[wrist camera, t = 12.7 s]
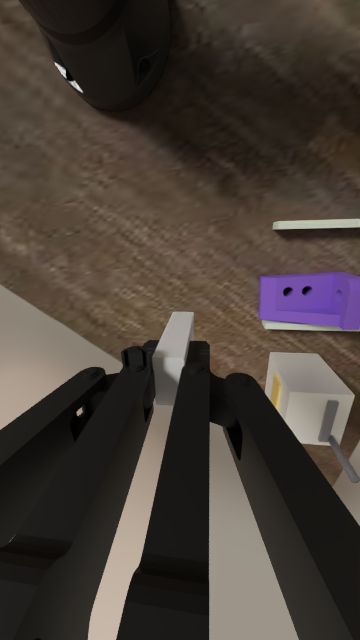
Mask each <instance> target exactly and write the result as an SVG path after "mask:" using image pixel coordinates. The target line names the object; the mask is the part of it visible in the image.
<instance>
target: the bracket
mask: <svg viewBox="0 0 360 640" xmlns="http://www.w3.org/2000/svg"><path fill="white" fill-rule="evenodd" d="M306 286H309V289H308V291H307V292H306V293H304V294H302V289H303V288H304V287H306ZM286 287H291V289H290V291H289V293H287V294H286V295H283V290H284V289H285V288H286ZM259 318H260V319H264V320H274V321H285V322H295V323H305V324H315V325H326V326H336V327H340V328H341V329H342V330H359V329H360V277H359V276H356V275H352V274H349V273H346V272H342V271H340V272H324V273H307V274H291V275H275V276H260V292H259Z"/></svg>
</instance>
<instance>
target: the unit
mask: <svg viewBox="0 0 360 640" xmlns="http://www.w3.org/2000/svg"><path fill="white" fill-rule="evenodd" d="M265 394H266V395H267V397H268V398H269V399H270V401H271V402H272V404H273V405H274V407H275V408H276V409H277V411H278V412H279V414H280V415H281V416H282V418H283V419H284V421H285V422H286V423H287V425H288V426H289V428H290V429H291V430H292V432H293V433H294V435H295V436H296V437H297V439H298V440H299V442H300V443H305V444H317V445H329V446H331V447H332V449H333V451H334V452H335V454H336V456H337V458H338V459H339V461H340V463H341V465H342V466H343V468H344V470H345V472H346V473H347V475H348V477H349V479H350V480H351V482H353V483H358V482H359V481H360V478H359V477H358V475H357V474H356V472H355V470H354V469H353V467H352V465H351V464H350V462H349V460H348V459H347V457H346V455H345V454H344V452H343V450H342V449H341V447H340V443H341V439H342V436H343V433H344V430H345V426H346V423H347V420H348V416H349V413H350V410H351V407H352V403H353V400H354V397H355V395H354V394H353V393H352V392H351V390H350V389H349V388H348V387H347V386H346V385H345V384H344V383H343V382H342V380H341V379H340V378H339V377H338V376H337V375H336V374H335V373H334V371H333V370H332V369H331V368H330V367H329V366H328V365H327V364H326V363H325V361H324V360H323V359H322V358H321V357H320V356H319V355H318V354H309V353H282V352H270V357H269V365H268V372H267V380H266V387H265Z"/></svg>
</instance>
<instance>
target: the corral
mask: <svg viewBox="0 0 360 640" xmlns="http://www.w3.org/2000/svg"><path fill="white" fill-rule="evenodd" d="M351 227H360V219H340V220H306V221H277V222H273V229H311V228H351ZM262 324H263V326H264V328H265V329H285V330H323V331H360V329H359V330H342V329H341V328H340V327H336V326H326V325H315V324H305V323H295V322H285V321H274V320H264V319H262Z"/></svg>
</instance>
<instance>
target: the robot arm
mask: <svg viewBox="0 0 360 640" xmlns="http://www.w3.org/2000/svg"><path fill="white" fill-rule="evenodd" d="M19 2H20V3H21V4H22V5H23V6H24V7H25V9H26V10H27V11H28V12H29V13H30V15H31V16H32V17H33V18H34V19H35V21H36V23H37V25H38V27H39V30H40V32H41V34H42V36H43V39H44V41H45V43H46V45H47V48H48V50H49V52H50V55H51V57H52V59H53V61H54V63H55V65H56V67H57V68H58V70H59V72H60V73H61V75H62V76H63V78H64V79H65V80H66V81H67V83H68V84H69V85H70V86H71V87H72V88H73V89H74V90H75V91H76V92H77V93H78V95H79V96H80V97H82V98H83V99H84V100H85V101H86V102H88V103H89V104H91V105H93V106H95V107H97V108H99V109H102V110H107V111H121V110H125V109H128V108H131V107H133V106H135V105H137V104H138V103H139V102H141V101H142V100H143V99H144V98H145V97H147V96H148V94H149V93H150V92H151V91H152V90H153V88H154V87H155V85H156V84H157V82H158V80H159V78H160V76H161V74H162V72H163V69H164V67H165V64H166V60H167V56H168V52H169V46H170V35H171V23H170V12H169V6H168V0H19ZM121 356H122V363H123V368H122V370H121V371H120V373H115V374H108V375H106V373H105V370H104V369H103V368H101V367H90V368H87V369H84V370H83V371H80V372H79V373H77V374H76V375H75V376H73V377H72V378H71V379H69V380H68V381H67V382H65V383H64V384H62V385H61V386H60V387H59V388H57V389H56V390H54V391H53V392H52V393H50V394H49V395H47V396H46V397H45V398H43V399H42V400H41V401H39V402H38V403H37V404H35V405H34V406H33V407H31V408H30V409H29V410H27V411H26V412H24V413H23V414H22V415H20V416H19V417H17V418H16V419H15V420H13V421H12V422H11V423H9V424H8V425H7V426H5V427H4V428H2V429H1V430H0V640H88V630H89V621H90V616H91V612H92V608H93V604H94V601H95V598H96V595H97V591H98V588H99V585H100V582H101V579H102V575H103V572H104V569H105V566H106V562H107V559H108V556H109V553H110V549H111V546H112V543H113V540H114V537H115V534H116V530H117V527H118V524H119V521H120V517H121V514H122V511H123V508H124V505H125V501H126V498H127V495H128V492H129V489H130V485H131V482H132V479H133V476H134V473H135V469H136V466H137V463H138V460H139V456H140V453H141V450H142V447H143V443H144V440H145V437H146V434H147V431H148V427H149V424H150V421H151V418H152V415H153V401H154V398H155V400H156V404H159V405H173V406H174V407H173V412H172V417H171V422H170V426H169V431H168V436H167V440H166V445H165V450H164V454H163V460H162V464H161V469H160V473H159V478H158V483H157V487H156V492H155V497H154V502H153V507H152V511H151V516H150V520H149V525H148V530H147V534H146V539H145V544H144V549H143V553H142V557H141V561H140V564H139V567H138V568H137V569H136V570H135V572H134V574H133V576H132V579H131V582H130V585H129V589H128V593H127V596H126V600H125V604H124V608H123V613H122V618H121V622H120V626H119V630H118V634H117V639H116V640H209V434H210V432H209V431H210V430H209V429H210V427H209V425H210V422H212V423H215V424H218V425H221V426H223V431H224V434H225V437H226V440H227V442H228V445H229V448H230V451H231V453H232V456H233V458H234V462H235V464H236V467H237V470H238V472H239V475H240V478H241V481H242V484H243V486H244V489H245V492H246V495H247V497H248V500H249V503H250V506H251V508H252V511H253V514H254V517H255V519H256V522H257V525H258V528H259V531H260V533H261V536H262V539H263V541H264V544H265V547H266V550H267V552H268V555H269V558H270V561H271V564H272V566H273V569H274V572H275V574H276V577H277V580H278V583H279V586H280V588H281V591H282V594H283V597H284V599H285V602H286V605H287V608H288V610H289V613H290V616H291V619H292V621H293V624H294V627H295V630H296V632H297V635H298V638H299V640H360V526H359V525H358V523H357V522H356V520H355V519H354V517H353V516H352V515H351V513H350V512H349V510H348V509H347V508H346V506H345V505H344V504H343V502H342V501H341V500H340V498H339V496H338V495H337V494H336V492H335V491H334V489H333V488H332V487H331V485H330V484H329V482H328V481H327V480H326V478H325V477H324V475H323V474H322V473H321V471H320V470H319V468H318V467H317V466H316V464H315V463H314V461H313V460H312V458H311V457H310V456H309V454H308V453H307V451H306V450H305V449H304V447H303V446H302V444H301V443H300V442H299V440H298V439H297V437H296V436H295V435H294V433H293V432H292V430H291V429H290V428H289V426H288V425H287V423H286V422H285V421H284V419H283V418H282V416H281V415H280V414H279V412H278V411H277V409H276V408H275V407H274V405H273V404H272V402H271V401H270V399H269V398H268V397H267V395H266V394H265V392H264V391H263V390H262V388H261V387H260V385H259V384H258V383H257V381H256V380H255V379H254V378H253V377H252V376H250V375H248V374H244V373H232V374H229V375H228V376H227V377H226V379H223V378H220V377H217V376H216V375H214V374H213V373H212V372H211V371H210V345H209V344H208V343H207V342H206V341H194V312H173V313H172V315H171V318H170V320H169V322H168V324H167V326H166V328H165V330H164V333H163V335H162V337H161V339H160V340H149V341H147V342H146V343H144V345H143V346H142V347H141V346H133V347H129V348H126V349H124V350H123V351H122V352H121ZM81 407H82V411H83V413H82V414H81V415H79V416H77V413H76V412H77V411H78V409H80V408H81ZM15 534H16V535H15ZM12 538H13V539H12ZM11 539H12V540H11ZM10 540H11V541H10Z"/></svg>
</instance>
